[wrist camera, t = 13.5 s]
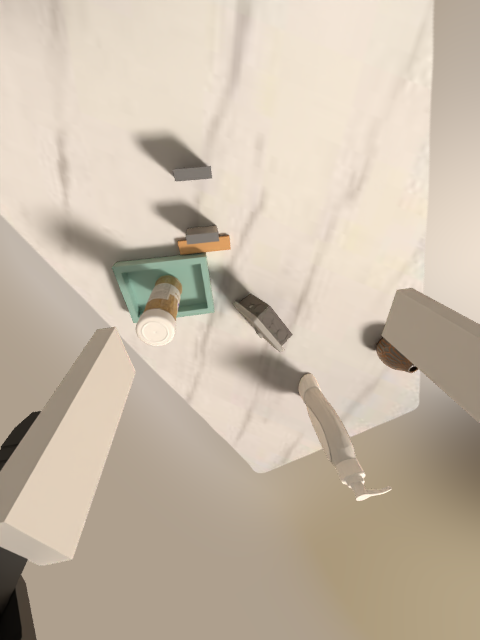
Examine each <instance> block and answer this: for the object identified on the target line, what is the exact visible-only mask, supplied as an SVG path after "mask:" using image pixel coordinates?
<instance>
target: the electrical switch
mask: <svg viewBox="0 0 480 640" xmlns="http://www.w3.org/2000/svg"><path fill="white" fill-rule="evenodd" d="M233 305H234V306H235V308H236V309H237V310H238V311H239V312H240V313H241V314H242V315H243V316H244V317H245V319H246V320H247V321H248V322H249V323H250V324H251V325H252V326H253V327H254V329H255V331H256V333H257V334H258V336H259V337H260V338H264V339H265V340H266V341H268V342H269V343H270V344H271V345H272V346H273V347H274V348H275V349H277V350H278V351H279V352H282V351H283V350H285V349H284V348H283V347H282V345H283V344H284V343H285V342H286V341H287V339H288V338H290V337H291V336H292V333H291V332H290V331H289V329H288V328H287V327H286V326H285V324H284V323H283V322H282V321H281V319H280V318H279V317H278V315H277V314H276V313H275V312H274V310H273V309H272V308H271V307H270V306H269V305H268V304H266V303H265V302H263V301H262V300H260V299H258V298H257V297H255V296H254V295H252V294H249V295H248V296H247V297H246V298H245V299H243V300H242V301H241V302H240V303H238V302H237V301H235V302H234V303H233ZM268 306H269V307H268ZM267 307H268V308H267ZM266 308H267V309H266ZM265 309H266V310H265Z"/></svg>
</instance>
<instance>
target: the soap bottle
mask: <svg viewBox="0 0 480 640" xmlns="http://www.w3.org/2000/svg"><path fill="white" fill-rule="evenodd" d="M298 391H299V393H300V396H301V398H302V399H303V401H304V403H305V404H306V406H307V411H308V414H309V417H310V420H311V422H312V425H313V427H314V429H315V432H316V434H317V436H318V439H319V441H320V443H321V445H322V448H323V450H324V452H325V454H326V456H327V458H328V459H329V461H331V463H332V464H333V465H334V467H335V468H336V470H337V472H338V474H339V477H340V479H341V481H342V483H343V484H347V485H348V487H349V488H352V490H353V492H354V493H355V496H356V500H358V501H361V500H364V499H367V498H368V497H370V496H374V495H380V494H384V493H386V492H388V491H390V490H391V487H390V486H388V487H386V488H383V489H367V490H366V489H365V487H364V485H363V484H364V479H363V478H364V477H365V473H364V471H363V469H362V467H361V466H360V464H359V462H358V460H357V459H356V456H355V453H354V448H353V444H352V442H351V439H350V437H349V435H348V433H347V431H346V429H345V427H344V425H343V423H342V421H341V420H340V418H339V416H338V415H337V413H336V412H335V410H334V409H333V407H332V406H331V405H330V403H329V402H328V401H327V400H326V398H325V397H324V395H323V394H322V392H321V389H320V387H319V384H318V382H317V380H316V379H315V377H314V376H313V375H311V374H306V375H304V376H303V377H302V378H301V380H300V383H299V388H298Z"/></svg>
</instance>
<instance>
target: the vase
mask: <svg viewBox="0 0 480 640" xmlns="http://www.w3.org/2000/svg"><path fill="white" fill-rule="evenodd" d="M377 354H378V356H379V358H380V359H381V361H382V362H383V363H384V364H386V365H387V366H388V367H390V368H392V369H395V370H401V371H406V372H409V373H413V372H416V371H417V370H418V368H417V367H416V366H415V365H414V364H413V363H411V362H410V361H409V360H408V359H407V358H406V357H405V356H404V355H403V354H401V353H400V352H399V351H398V350H397V349H396V348H395V347H394V346H392V345H391V344H390V343H389V342H388V341H387V340H386V339H385V338H383V339H381V340H380V341H379V342H378V345H377Z"/></svg>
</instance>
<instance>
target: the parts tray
mask: <svg viewBox="0 0 480 640" xmlns="http://www.w3.org/2000/svg"><path fill="white" fill-rule="evenodd" d="M112 269H113V272H114V274H115V277H116V279H117V282H118V284H119V287H120V290H121V292H122V295H123V297H124V300H125V302H126V305H127V307H128V310H129V313H130V315H131V318H132V320H133V323H137V322H138V320H139V318H140V316H141V315H142V314H143V312H144V310H145V306H146V304H147V302H148V299H149V297H150V295H151V293H152V290H153V289H154V287H155V283H156V281H157V280H158V278H160V277H161V276H165V275H170V276H173V277H175V278H177V279H178V280H179V281H180V283H181V285H182V293H181V296H180V303H179V307H178V313H177V316H176V317H184V316H191V315H199V314H207V313H214V303H213V296H212V290H211V283H210V276H209V270H208V263H207V257H206V252H203V253H194V254H185V255H176V256H166V257H157V258H148V259H139V260H130V261H121V262H116V263H115V264H114V265H113V267H112Z"/></svg>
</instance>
